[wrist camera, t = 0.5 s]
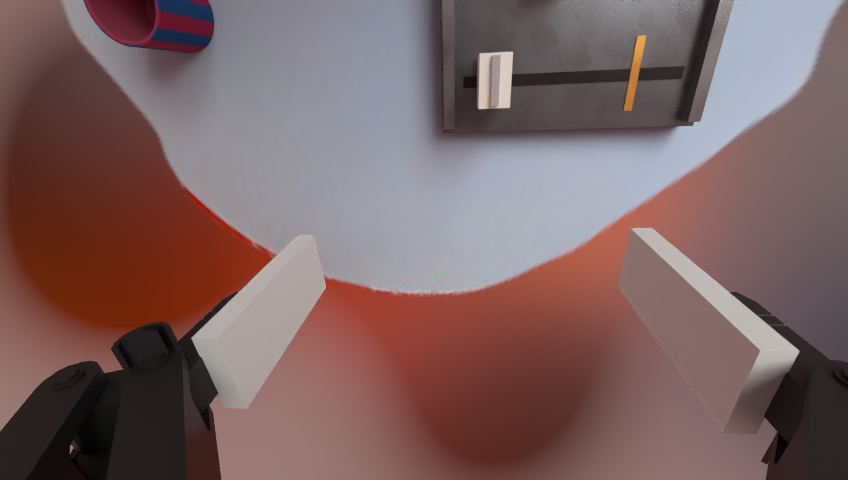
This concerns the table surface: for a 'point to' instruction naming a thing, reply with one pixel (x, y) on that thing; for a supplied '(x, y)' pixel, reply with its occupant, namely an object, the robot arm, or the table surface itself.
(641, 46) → the console
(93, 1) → the mug
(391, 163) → the table surface
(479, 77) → the fader tab
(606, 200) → the table surface
